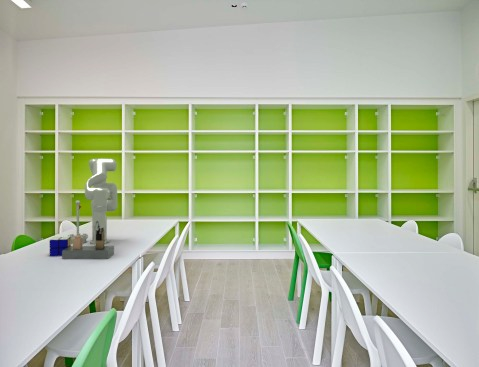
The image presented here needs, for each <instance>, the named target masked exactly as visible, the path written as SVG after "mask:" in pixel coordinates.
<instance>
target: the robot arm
mask: <svg viewBox="0 0 479 367" xmlns="http://www.w3.org/2000/svg"><path fill="white" fill-rule="evenodd" d="M88 166H89V170H90V173H91V175H92V176H90V177H89V178H88V179H87V180H86V182H85V184H84V197H85V199H86V200H90V201H91V202H90V207H91V213H92V214H91V218H92V220H91V222H92V223H91V224H92V226H91V228H92V229H91V230H92V231H91V232H92V233H91V234H92V240H90V241H89V243H90V244H91V245H93V244H94V245H96V241H101V240H102V234H101V229H103V231H105V244H107V243H109V242H110V240H109V239H107V235H108V234H107V232H108V229H107V228H108V227H107V225H108V224H107V223H108V222H107V221H108V219H107V213H106V212H115V211H116V210H117V209H118V186H117V184H116V183H114V182H107V178H108V172H116V170H117V161H116V160H115V159H114V158H91V159H90V160H88ZM99 230H100V231H99Z"/></svg>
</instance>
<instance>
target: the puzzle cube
mask: <svg viewBox="0 0 479 367" xmlns="http://www.w3.org/2000/svg"><path fill="white" fill-rule="evenodd" d="M70 246H72V244H71V236H68V235H67V236H54V237H52V238H51V239H49V257H62V250H64V249H66V248H68V247H70Z"/></svg>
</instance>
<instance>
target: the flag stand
mask: <svg viewBox="0 0 479 367" xmlns="http://www.w3.org/2000/svg"><path fill="white" fill-rule="evenodd" d="M80 203H81V201H80V200H75V204H76V234H74V233H72V234H68V235H67V236H71V245H73V238H75V236H81V237H82V244H86V243H87V239H88V238H89V234H88V233H82V234H81V233H80V209H81V208H82V206H81V205H80Z"/></svg>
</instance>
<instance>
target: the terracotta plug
mask: <svg viewBox="0 0 479 367" xmlns="http://www.w3.org/2000/svg"><path fill="white" fill-rule="evenodd" d="M72 246H73V249H81V248H82V246H83V243H82V237H81V236H75V238H73V244H72Z"/></svg>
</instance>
